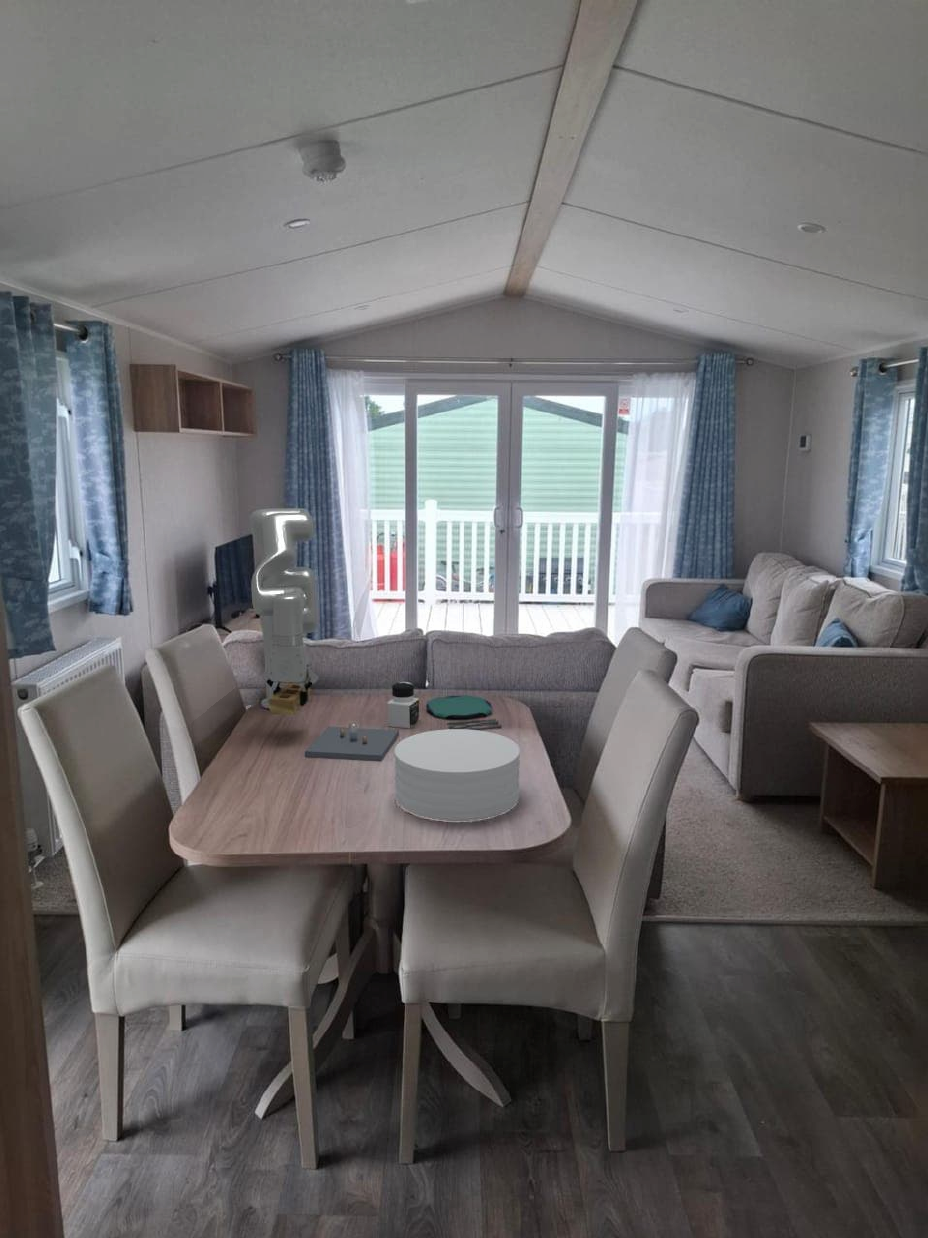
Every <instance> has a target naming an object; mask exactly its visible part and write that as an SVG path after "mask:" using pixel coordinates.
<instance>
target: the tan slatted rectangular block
mask: <svg viewBox="0 0 928 1238" xmlns="http://www.w3.org/2000/svg"><path fill="white" fill-rule="evenodd" d="M300 692H301V688H300V686H299V684H298V683H297V684H294V683H288V684H287V685H285V686H284V687H283V688H282V689H281V690H280V691H279V692H278V693H276V694H275V695H274V696H273V697H271V698H270V709H269V713H270V714H271V715H284V716H285V715H288V716H294V715H295V714H296V713H297V712H298V711H299V710H300V709H302V707H303V706H301V705H300ZM311 693H312V691H311V687H310V688H309V689H308V701H310V699H312V698H311V697H312V696H311Z"/></svg>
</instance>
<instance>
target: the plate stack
mask: <svg viewBox="0 0 928 1238" xmlns="http://www.w3.org/2000/svg"><path fill="white" fill-rule="evenodd" d="M393 752H394V779H395V781H394V790H395V791H394V792H395V793H394V800H395V799H396V801H397V802H398V804H399V805H400V806H402V807H403V808H405V809H406V810H408V811H410V812H413V813H414V814H417V815H420V816H424V817H428V818H432V819H439V820H447V821H470V820H478V819H484V818H488V817H492V816H496V815H498V814H501V813H503V812H506V811H507V810H509V809H511V808H512V807H513V806H514V805H515V804H516V803H517V802H518V803H519V801H520V763H521V762H520V757H521V756H520V755H521V754H520V753H521V749H520V747H519V745H518V744H517V742H515V741H513V740H512V739H510V738H509V737H506V736H504V735H501V734H498V733H495V732H490V731H484V730H468V729H464V728H462V729H454V728H451V729H448V728H447V729H437V730H430V731H424V732H419V733H417V734H414V735H411V736H408V737H406V738H404V739H402V740H400V742H398V743H397V744H396V745H395V747H394V751H393ZM518 800H519V801H518ZM396 801H395V802H396Z"/></svg>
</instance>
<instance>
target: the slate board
mask: <svg viewBox="0 0 928 1238" xmlns="http://www.w3.org/2000/svg"><path fill="white" fill-rule="evenodd" d="M341 729H344V730H345V737H344V738H341V737H340V730H341ZM362 736H367V744H363V741H362ZM399 736H400V730H398V729H384V728H366V727H365V728H362V727H357V741H354V742H352V741H350V729H349V727H345V726H344V727H342V726H327V727H326V729H325V730H323V732H322V733H321V734H320V735H319V736H318V737H317V738H316V739H315V740H314V741H313V742H312V743H311V744H310V745H309V746H308V747H307V748H306V749H305V750H304V757H305V758H307V757H308V758H322V759H323V758H325V759H338V760H339V759H340V760H354V759H356V760H357V761H373V762H376V761H377V762H382V761H383V759H384V758H385V757H386V755H387V754H388V752H390V751H389V750H390V749H392V747H393V745H394V743H395V742H396V740H397V739H398V738H399Z"/></svg>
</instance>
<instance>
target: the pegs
mask: <svg viewBox="0 0 928 1238" xmlns="http://www.w3.org/2000/svg"><path fill="white" fill-rule="evenodd" d="M348 725H349V727H348V728H349V729H350V741H352V742H354V741H357V728H358V723H356V722H350V723H349V724H348ZM340 737H341V738H344V737H345V730H344V729H341V730H340ZM362 741H363V744H367V736H362Z"/></svg>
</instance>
